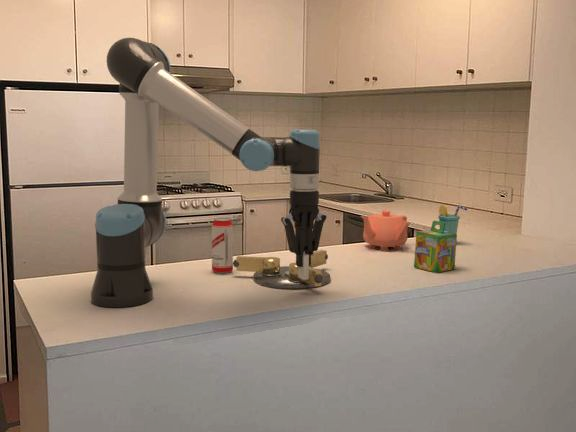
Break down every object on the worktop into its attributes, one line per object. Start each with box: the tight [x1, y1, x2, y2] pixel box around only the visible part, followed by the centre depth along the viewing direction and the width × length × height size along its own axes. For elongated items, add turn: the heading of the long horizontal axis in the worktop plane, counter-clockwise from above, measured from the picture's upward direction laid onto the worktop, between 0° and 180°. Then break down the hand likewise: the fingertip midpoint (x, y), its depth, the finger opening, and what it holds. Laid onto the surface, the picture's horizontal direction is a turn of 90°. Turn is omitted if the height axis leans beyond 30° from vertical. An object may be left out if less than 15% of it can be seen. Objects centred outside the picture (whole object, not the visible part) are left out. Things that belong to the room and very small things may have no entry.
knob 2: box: [289, 262, 323, 287], centre depth 173 cm, size 14×5×4 cm, turn 32°
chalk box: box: [413, 220, 458, 274], centre depth 196 cm, size 9×9×15 cm
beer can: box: [211, 217, 234, 275], centre depth 189 cm, size 6×6×16 cm
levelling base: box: [253, 265, 331, 291], centre depth 183 cm, size 22×22×2 cm
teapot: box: [360, 209, 410, 252], centre depth 227 cm, size 16×17×14 cm
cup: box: [437, 204, 468, 235], centre depth 234 cm, size 14×8×15 cm, turn 35°
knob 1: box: [233, 255, 281, 275], centre depth 184 cm, size 14×5×4 cm, turn 82°
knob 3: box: [309, 249, 329, 268], centre depth 190 cm, size 14×5×4 cm, turn 142°
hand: (303, 278), depth 169 cm, fingers closed
